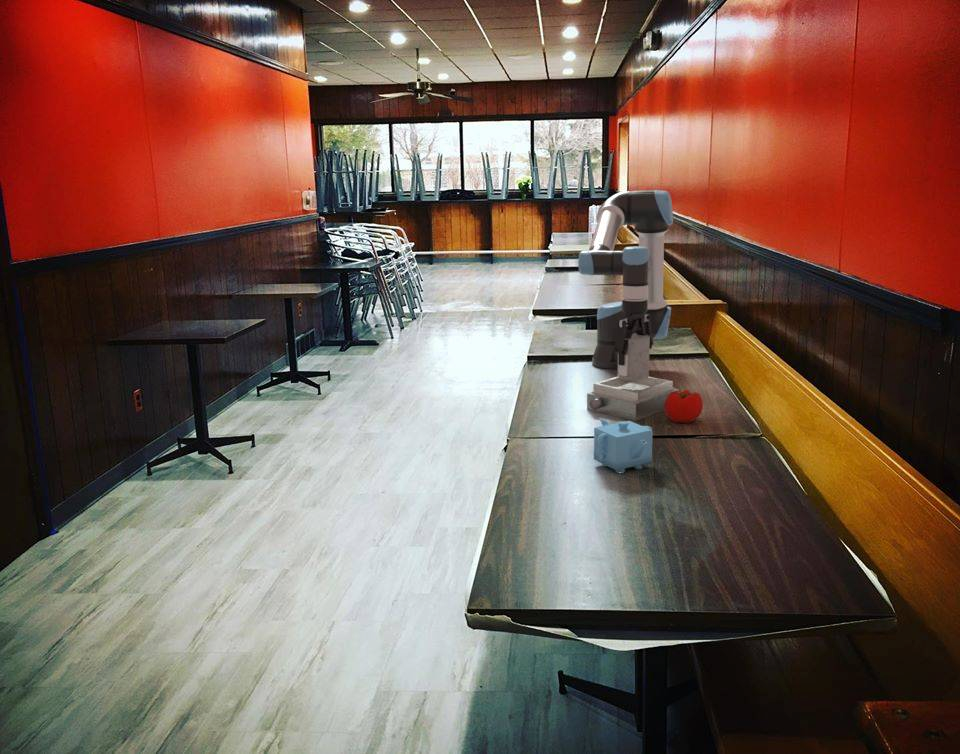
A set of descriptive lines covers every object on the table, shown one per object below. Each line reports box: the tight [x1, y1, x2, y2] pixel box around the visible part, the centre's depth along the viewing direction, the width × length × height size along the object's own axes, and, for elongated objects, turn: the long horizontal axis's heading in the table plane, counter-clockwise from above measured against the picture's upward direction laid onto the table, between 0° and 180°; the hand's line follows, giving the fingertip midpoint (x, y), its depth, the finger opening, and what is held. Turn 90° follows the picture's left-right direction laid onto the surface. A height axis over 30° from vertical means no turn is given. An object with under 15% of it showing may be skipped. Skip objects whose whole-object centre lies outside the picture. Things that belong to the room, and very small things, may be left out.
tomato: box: [664, 389, 704, 424], centre depth 229 cm, size 11×11×9 cm
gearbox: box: [586, 375, 679, 421], centre depth 243 cm, size 25×18×8 cm
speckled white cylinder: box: [616, 333, 650, 380], centre depth 241 cm, size 10×10×12 cm
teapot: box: [593, 417, 653, 474], centre depth 195 cm, size 16×18×11 cm
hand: (633, 372), depth 242 cm, fingers closed on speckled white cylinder, 9 cm apart
